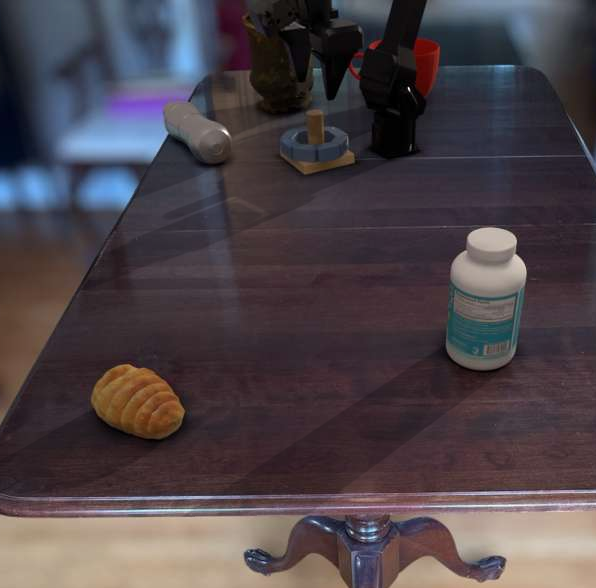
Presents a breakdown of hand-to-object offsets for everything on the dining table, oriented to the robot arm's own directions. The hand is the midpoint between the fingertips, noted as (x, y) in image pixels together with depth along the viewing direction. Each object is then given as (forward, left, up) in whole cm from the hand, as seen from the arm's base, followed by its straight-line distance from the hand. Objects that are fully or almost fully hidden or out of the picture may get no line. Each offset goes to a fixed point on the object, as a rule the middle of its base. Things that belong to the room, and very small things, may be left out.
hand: (315, 91), depth 102 cm
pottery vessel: (-10, -34, -13) cm, 38 cm away
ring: (-3, -7, -12) cm, 14 cm away
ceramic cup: (-28, -24, -13) cm, 39 cm away
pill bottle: (+6, +49, -13) cm, 51 cm away
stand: (-3, -7, -13) cm, 15 cm away
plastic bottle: (+12, -12, -10) cm, 19 cm away
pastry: (+40, +40, -13) cm, 58 cm away
